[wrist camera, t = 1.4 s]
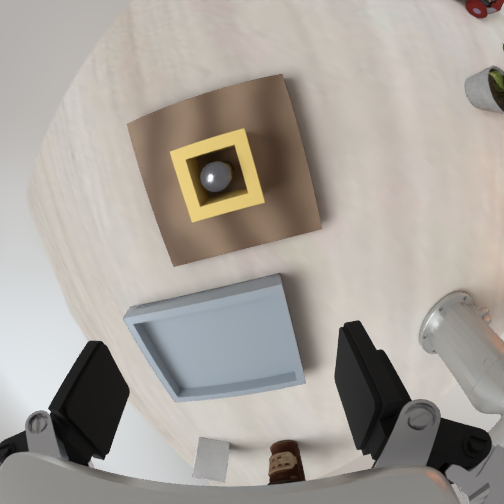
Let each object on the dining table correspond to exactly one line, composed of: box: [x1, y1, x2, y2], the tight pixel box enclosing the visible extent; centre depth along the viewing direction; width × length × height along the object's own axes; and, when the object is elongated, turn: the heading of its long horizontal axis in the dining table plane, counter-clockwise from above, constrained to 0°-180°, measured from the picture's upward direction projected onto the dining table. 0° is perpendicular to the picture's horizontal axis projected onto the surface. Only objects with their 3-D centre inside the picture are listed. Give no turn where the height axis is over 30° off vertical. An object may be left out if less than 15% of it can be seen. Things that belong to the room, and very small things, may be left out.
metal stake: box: [200, 160, 235, 192], centre depth 26 cm, size 3×3×6 cm
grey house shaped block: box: [192, 437, 229, 483], centre depth 46 cm, size 4×7×10 cm, turn 73°
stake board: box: [127, 74, 322, 267], centre depth 30 cm, size 18×18×2 cm
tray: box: [123, 273, 306, 402], centre depth 38 cm, size 22×18×3 cm
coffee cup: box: [268, 441, 306, 485], centre depth 44 cm, size 9×8×13 cm
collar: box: [170, 128, 265, 222], centre depth 26 cm, size 7×7×5 cm
